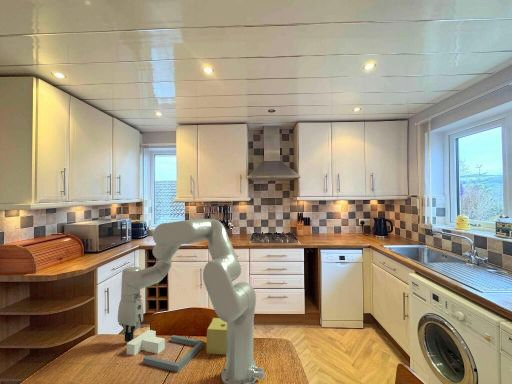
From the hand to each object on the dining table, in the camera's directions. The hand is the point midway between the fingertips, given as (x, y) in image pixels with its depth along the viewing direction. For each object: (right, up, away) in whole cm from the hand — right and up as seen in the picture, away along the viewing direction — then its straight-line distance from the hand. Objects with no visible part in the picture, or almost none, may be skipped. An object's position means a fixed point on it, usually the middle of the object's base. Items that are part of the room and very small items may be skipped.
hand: (128, 340), depth 107 cm
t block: (+10, -1, -4) cm, 11 cm away
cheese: (+40, -2, -3) cm, 40 cm away
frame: (+22, -1, -7) cm, 23 cm away
